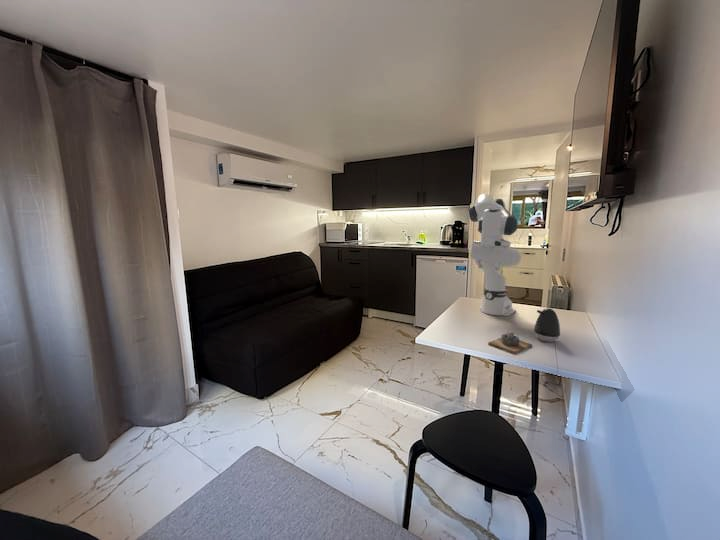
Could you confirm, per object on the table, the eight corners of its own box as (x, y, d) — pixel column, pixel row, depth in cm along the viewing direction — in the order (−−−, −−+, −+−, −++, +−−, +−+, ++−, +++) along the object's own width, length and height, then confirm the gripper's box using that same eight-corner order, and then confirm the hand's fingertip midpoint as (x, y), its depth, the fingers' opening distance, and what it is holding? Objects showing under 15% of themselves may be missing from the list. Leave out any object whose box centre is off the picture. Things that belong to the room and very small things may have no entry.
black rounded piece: (528, 335, 143) (531, 305, 140) (550, 335, 143) (553, 305, 140) (540, 344, 133) (543, 311, 130) (564, 344, 132) (567, 311, 130)
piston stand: (505, 337, 140) (506, 325, 139) (531, 346, 131) (532, 333, 130) (488, 344, 133) (489, 331, 132) (514, 354, 123) (515, 340, 122)
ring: (506, 339, 136) (507, 333, 136) (521, 344, 131) (521, 337, 130) (498, 342, 132) (499, 336, 132) (513, 347, 127) (513, 340, 126)
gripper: (468, 241, 152) (467, 267, 155) (506, 243, 136) (504, 272, 138) (476, 240, 156) (474, 266, 158) (514, 242, 139) (511, 271, 141)
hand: (488, 269), depth 148 cm, fingers open, 8 cm apart
